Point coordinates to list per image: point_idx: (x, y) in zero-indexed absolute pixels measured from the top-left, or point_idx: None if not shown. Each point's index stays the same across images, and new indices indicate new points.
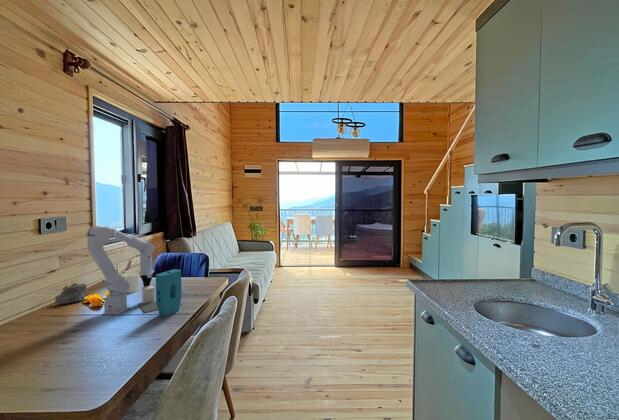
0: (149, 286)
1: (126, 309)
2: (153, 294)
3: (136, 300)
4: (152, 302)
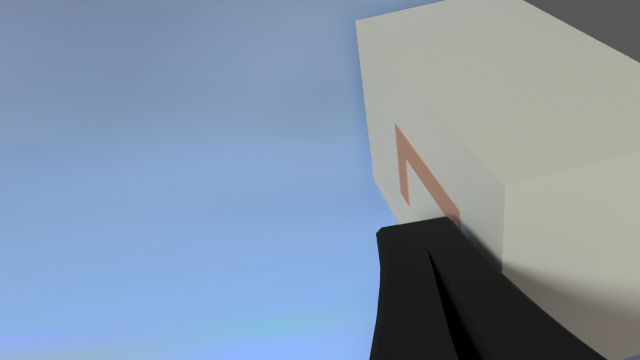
0: (563, 253)
1: None
2: (599, 54)
3: (238, 238)
4: (579, 22)
